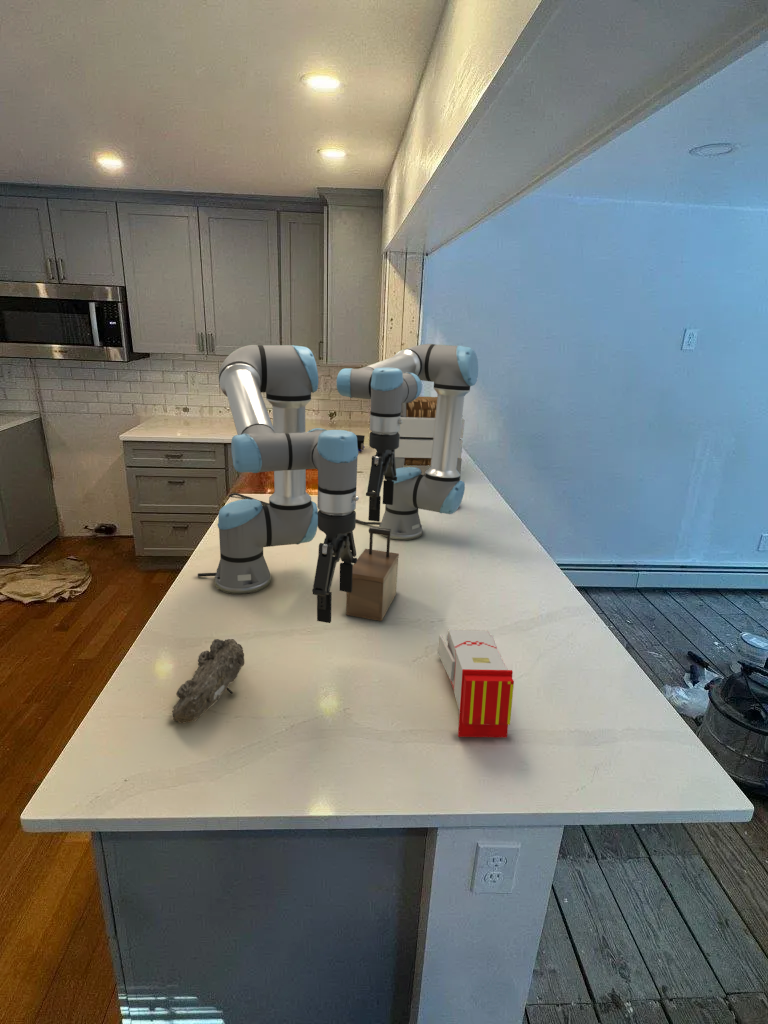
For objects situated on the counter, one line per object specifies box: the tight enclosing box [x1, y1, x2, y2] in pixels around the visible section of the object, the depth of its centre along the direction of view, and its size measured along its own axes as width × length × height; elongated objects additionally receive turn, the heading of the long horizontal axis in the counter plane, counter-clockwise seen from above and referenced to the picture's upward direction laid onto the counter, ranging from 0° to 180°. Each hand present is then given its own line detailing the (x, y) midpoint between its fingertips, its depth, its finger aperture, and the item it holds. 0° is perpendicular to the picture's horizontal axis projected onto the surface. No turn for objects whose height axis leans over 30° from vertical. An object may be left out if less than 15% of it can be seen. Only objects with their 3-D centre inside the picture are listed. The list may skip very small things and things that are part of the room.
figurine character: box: [355, 434, 365, 454], centre depth 311 cm, size 7×8×15 cm
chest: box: [345, 558, 399, 622], centre depth 150 cm, size 16×10×11 cm, turn 165°
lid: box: [352, 525, 400, 583], centre depth 147 cm, size 16×10×9 cm, turn 165°
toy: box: [437, 628, 515, 738], centre depth 117 cm, size 12×13×30 cm
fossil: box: [171, 638, 245, 724], centre depth 113 cm, size 22×10×15 cm
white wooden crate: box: [395, 396, 465, 475], centre depth 268 cm, size 34×33×41 cm
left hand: (335, 605), depth 119 cm, fingers open, 13 cm apart
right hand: (381, 512), depth 148 cm, fingers open, 13 cm apart
